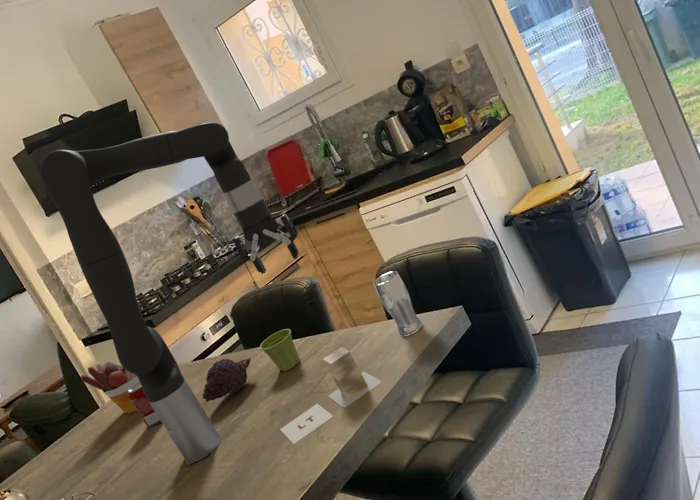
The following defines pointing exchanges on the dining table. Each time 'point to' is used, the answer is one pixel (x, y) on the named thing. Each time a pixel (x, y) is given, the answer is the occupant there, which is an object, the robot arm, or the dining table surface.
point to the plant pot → (281, 349)
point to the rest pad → (347, 401)
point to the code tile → (306, 423)
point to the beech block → (345, 372)
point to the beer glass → (397, 302)
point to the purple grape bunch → (225, 378)
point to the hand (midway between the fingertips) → (280, 265)
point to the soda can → (143, 405)
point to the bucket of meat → (113, 383)
